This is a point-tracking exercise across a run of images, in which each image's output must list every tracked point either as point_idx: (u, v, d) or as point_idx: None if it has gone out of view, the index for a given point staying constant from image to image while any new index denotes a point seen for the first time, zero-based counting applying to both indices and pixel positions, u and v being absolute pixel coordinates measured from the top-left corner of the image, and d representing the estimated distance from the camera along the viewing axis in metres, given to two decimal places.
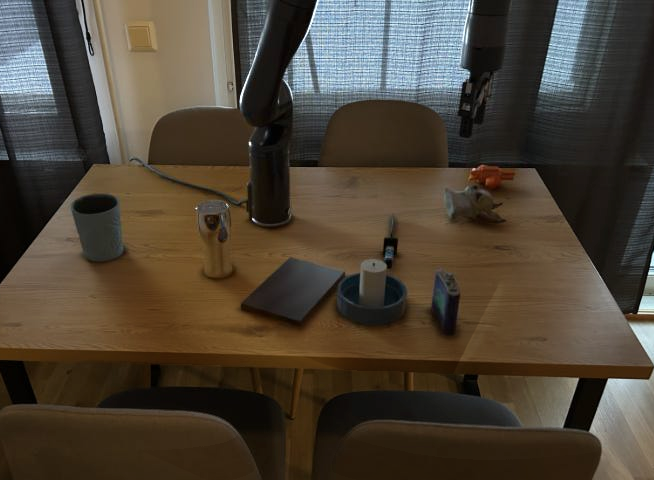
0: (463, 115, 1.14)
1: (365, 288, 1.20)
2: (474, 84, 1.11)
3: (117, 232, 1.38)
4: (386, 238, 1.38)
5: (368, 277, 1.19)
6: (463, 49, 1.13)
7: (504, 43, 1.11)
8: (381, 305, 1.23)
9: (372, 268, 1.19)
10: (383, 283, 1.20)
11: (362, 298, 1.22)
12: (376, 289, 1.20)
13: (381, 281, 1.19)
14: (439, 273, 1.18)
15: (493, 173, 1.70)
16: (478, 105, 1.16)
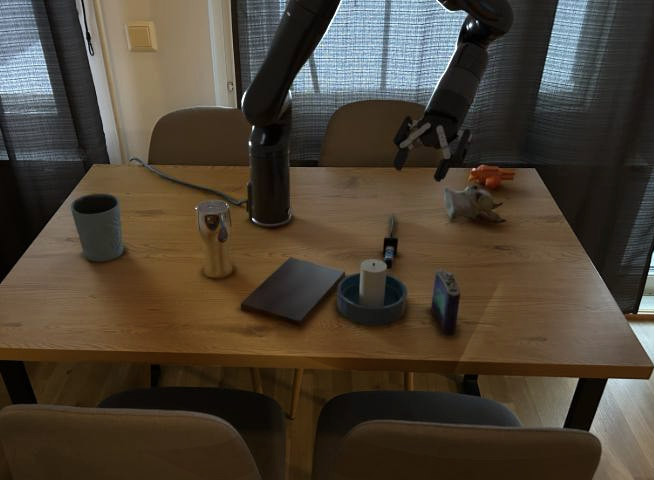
0: (460, 159, 1.17)
1: (365, 288, 1.20)
2: None
3: (117, 232, 1.38)
4: (386, 238, 1.38)
5: (368, 277, 1.19)
6: (456, 98, 1.18)
7: None
8: (381, 305, 1.23)
9: (372, 268, 1.19)
10: (383, 283, 1.20)
11: (362, 298, 1.22)
12: (376, 289, 1.20)
13: (381, 281, 1.19)
14: (439, 273, 1.18)
15: (493, 173, 1.70)
16: None
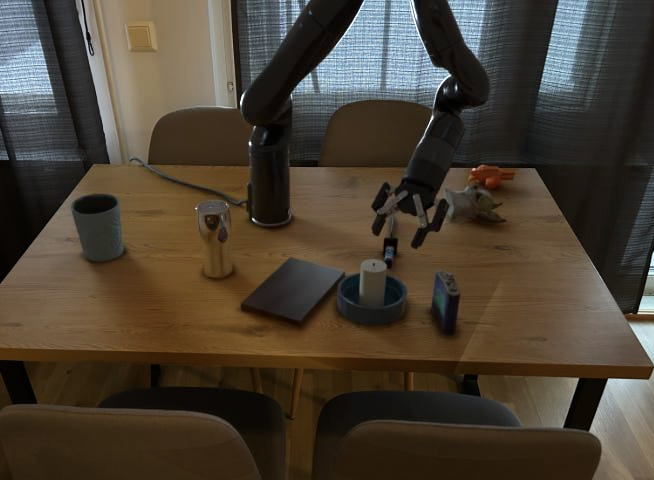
0: (436, 228, 1.19)
1: (365, 288, 1.20)
2: (448, 204, 1.21)
3: (117, 232, 1.38)
4: (386, 238, 1.38)
5: (368, 277, 1.19)
6: (432, 168, 1.20)
7: None
8: (381, 305, 1.23)
9: (372, 268, 1.19)
10: (383, 283, 1.20)
11: (362, 298, 1.22)
12: (376, 289, 1.20)
13: (381, 281, 1.19)
14: (439, 273, 1.18)
15: (493, 173, 1.70)
16: None
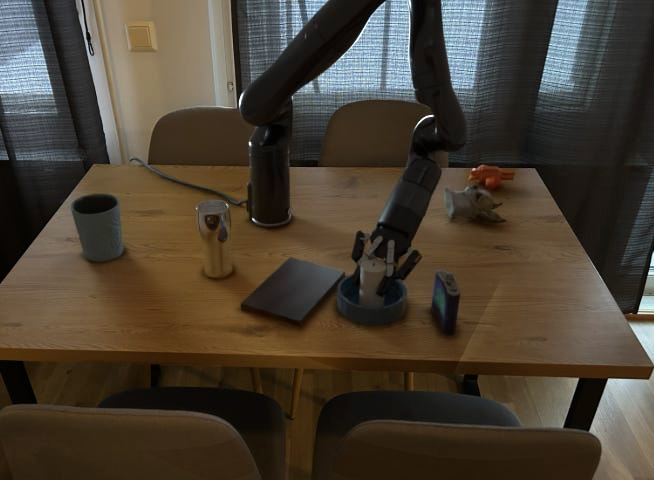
0: (402, 276, 1.18)
1: (365, 288, 1.20)
2: (421, 255, 1.19)
3: (117, 232, 1.38)
4: None
5: (368, 277, 1.18)
6: (407, 214, 1.18)
7: None
8: (381, 305, 1.23)
9: (372, 268, 1.19)
10: None
11: (362, 298, 1.22)
12: (376, 289, 1.20)
13: None
14: (439, 273, 1.18)
15: (493, 173, 1.70)
16: None
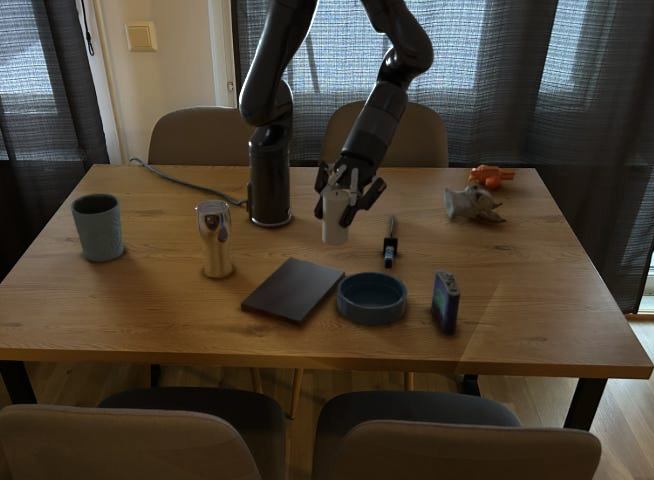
0: (366, 206, 1.13)
1: (328, 218, 1.15)
2: (386, 184, 1.14)
3: (117, 232, 1.38)
4: (386, 238, 1.38)
5: (331, 206, 1.13)
6: (371, 140, 1.13)
7: None
8: (345, 238, 1.17)
9: (335, 197, 1.13)
10: None
11: (325, 230, 1.17)
12: (339, 220, 1.14)
13: None
14: (439, 273, 1.18)
15: (493, 173, 1.70)
16: None
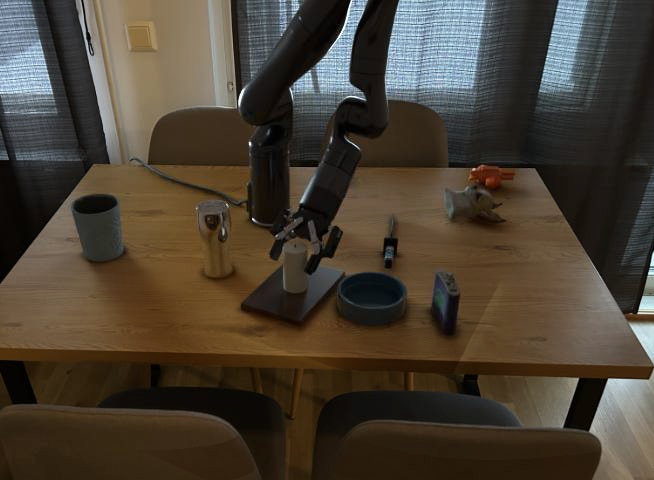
0: (329, 255, 1.21)
1: (287, 269, 1.24)
2: None
3: (117, 232, 1.38)
4: (386, 238, 1.38)
5: (289, 258, 1.22)
6: (326, 195, 1.22)
7: None
8: (304, 286, 1.26)
9: (293, 250, 1.22)
10: (304, 264, 1.24)
11: (285, 279, 1.25)
12: (298, 270, 1.23)
13: (302, 262, 1.23)
14: (439, 273, 1.18)
15: (493, 173, 1.70)
16: None
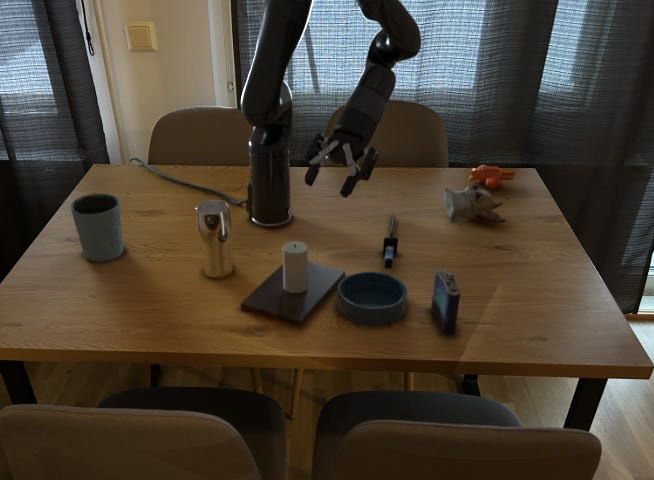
0: (365, 176, 1.21)
1: (287, 269, 1.24)
2: (377, 153, 1.23)
3: (117, 232, 1.38)
4: (386, 238, 1.38)
5: (289, 258, 1.22)
6: (362, 117, 1.22)
7: None
8: (304, 286, 1.26)
9: (293, 250, 1.22)
10: (304, 264, 1.24)
11: (285, 279, 1.25)
12: (298, 270, 1.23)
13: (302, 262, 1.23)
14: (439, 273, 1.18)
15: (493, 173, 1.70)
16: None
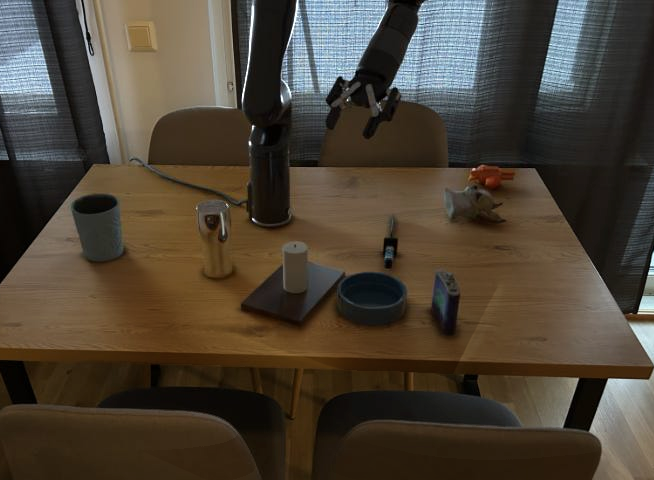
0: (388, 117, 1.20)
1: (287, 269, 1.24)
2: None
3: (117, 232, 1.38)
4: (386, 238, 1.38)
5: (289, 258, 1.22)
6: (384, 57, 1.20)
7: None
8: (304, 286, 1.26)
9: (293, 250, 1.22)
10: (304, 264, 1.24)
11: (285, 279, 1.25)
12: (298, 270, 1.23)
13: (302, 262, 1.23)
14: (439, 273, 1.18)
15: (493, 173, 1.70)
16: None
